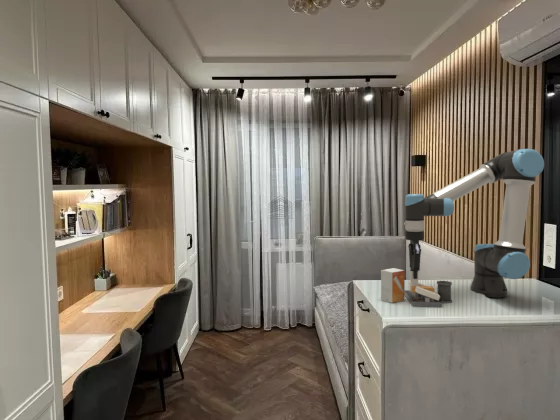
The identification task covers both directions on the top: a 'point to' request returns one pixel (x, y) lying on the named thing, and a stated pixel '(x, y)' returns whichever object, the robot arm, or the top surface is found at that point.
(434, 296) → the beige rectangular tile
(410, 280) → the paddle far
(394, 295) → the small box
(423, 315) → the top surface
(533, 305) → the top surface
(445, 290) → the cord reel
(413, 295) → the plate
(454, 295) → the top surface
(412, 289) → the paddle mid
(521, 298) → the top surface
